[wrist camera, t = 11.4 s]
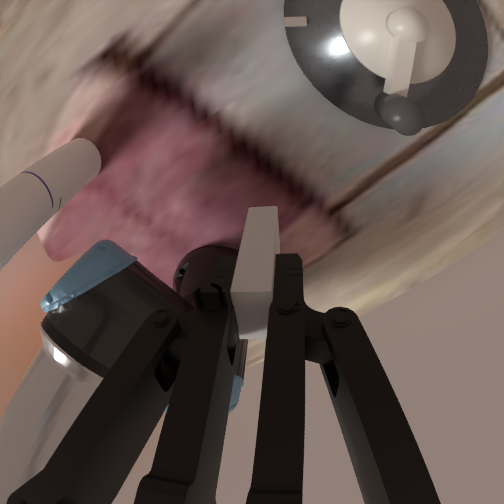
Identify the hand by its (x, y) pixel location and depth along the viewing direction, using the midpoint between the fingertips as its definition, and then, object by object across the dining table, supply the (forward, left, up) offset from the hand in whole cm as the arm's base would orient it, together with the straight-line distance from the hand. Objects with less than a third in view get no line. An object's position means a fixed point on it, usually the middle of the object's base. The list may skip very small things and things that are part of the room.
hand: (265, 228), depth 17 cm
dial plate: (+13, -15, -24) cm, 31 cm away
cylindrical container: (-1, +29, -25) cm, 38 cm away
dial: (+11, -15, -22) cm, 29 cm away
